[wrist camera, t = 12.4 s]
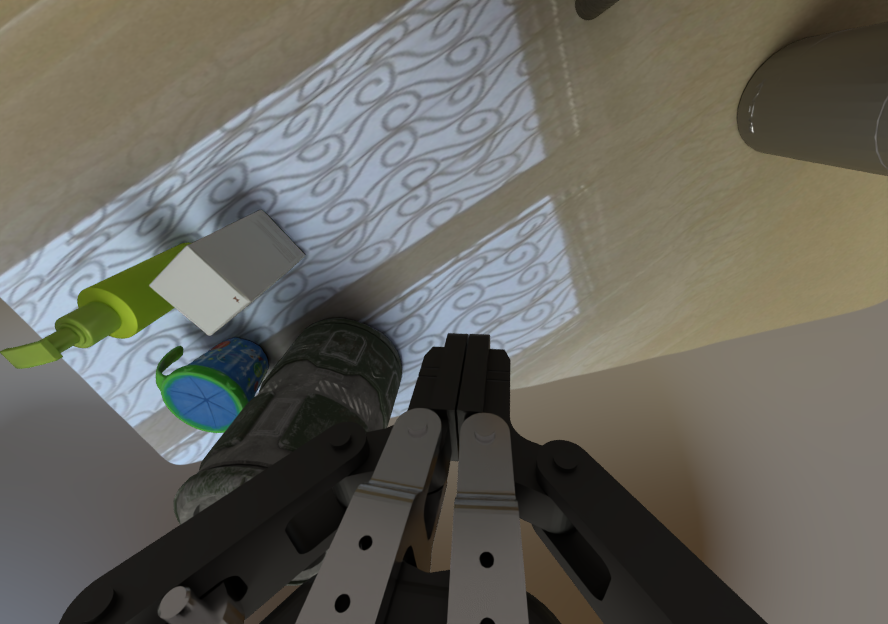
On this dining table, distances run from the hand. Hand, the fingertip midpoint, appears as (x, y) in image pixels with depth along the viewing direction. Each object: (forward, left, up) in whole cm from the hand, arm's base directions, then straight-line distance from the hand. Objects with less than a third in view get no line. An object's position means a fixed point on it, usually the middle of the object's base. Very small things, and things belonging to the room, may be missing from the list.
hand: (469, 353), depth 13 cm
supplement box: (+27, +4, -31) cm, 41 cm away
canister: (+21, +22, -31) cm, 43 cm away
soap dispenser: (+38, +5, -31) cm, 49 cm away
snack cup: (+37, +20, -31) cm, 52 cm away
